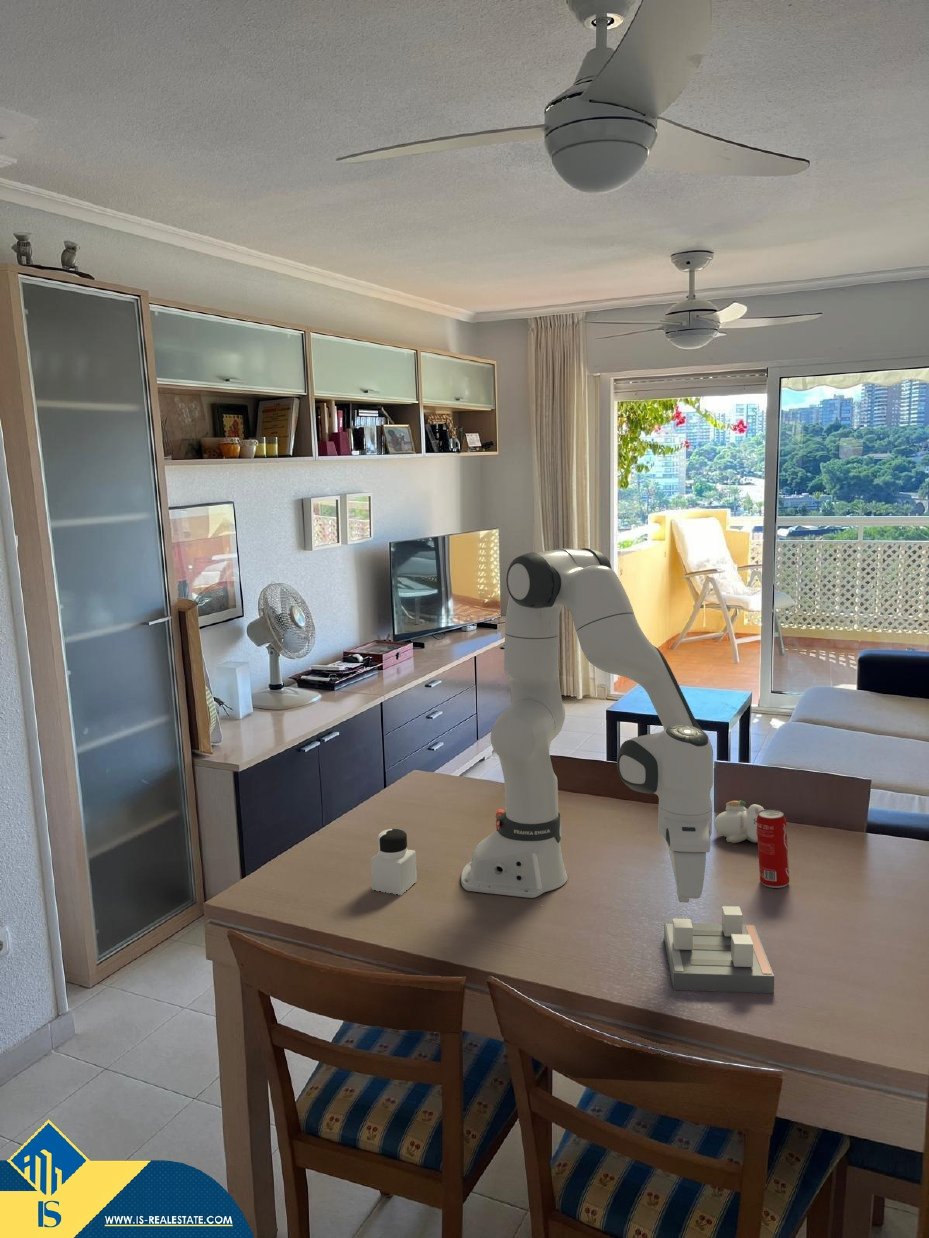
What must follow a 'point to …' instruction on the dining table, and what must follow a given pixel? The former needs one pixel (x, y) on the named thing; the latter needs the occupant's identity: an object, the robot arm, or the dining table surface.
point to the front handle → (742, 950)
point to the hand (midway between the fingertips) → (682, 898)
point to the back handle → (731, 920)
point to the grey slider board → (717, 962)
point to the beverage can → (772, 848)
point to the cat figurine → (738, 822)
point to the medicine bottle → (393, 863)
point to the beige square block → (683, 934)
